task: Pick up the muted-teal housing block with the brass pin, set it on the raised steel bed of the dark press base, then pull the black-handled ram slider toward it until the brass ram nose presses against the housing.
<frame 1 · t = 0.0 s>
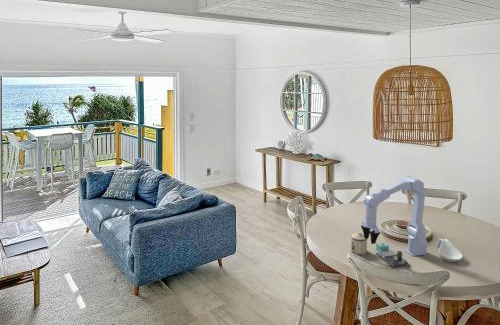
hand: (369, 240, 216), 10 cm above the table, fingers open, 7 cm apart
spoon rest: (446, 255, 220), on the table
housing: (382, 250, 227), on the table
press base: (392, 259, 215), on the table
ram lever: (398, 256, 209), point 4 cm above the table, slide at 0.0 cm
teacup with lid: (359, 252, 225), on the table
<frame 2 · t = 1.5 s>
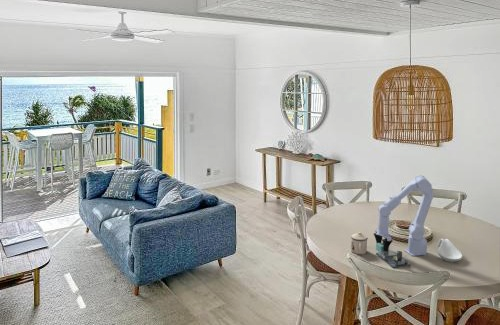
hand: (382, 248, 227), 2 cm above the table, fingers open, 7 cm apart
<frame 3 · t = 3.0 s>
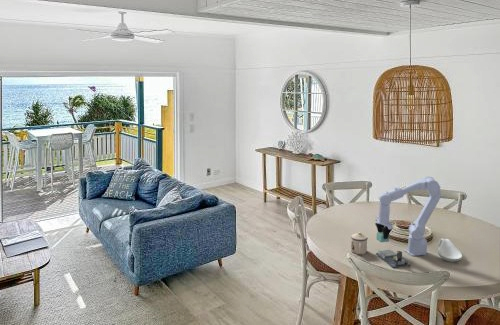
hand: (383, 236, 225), 8 cm above the table, fingers closed on housing, 5 cm apart
housing: (382, 240, 226), point 6 cm above the table, touching gripper
everything else where it was.
when the fingers open (5 cm above the table, at t = 4.6 s): housing stays where it is, resting on press base.
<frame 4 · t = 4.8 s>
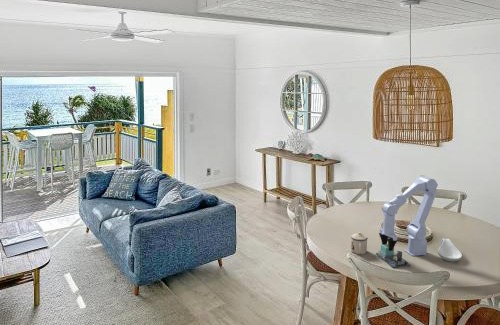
hand: (387, 247, 219), 5 cm above the table, fingers open, 6 cm apart
housing: (387, 252, 220), point 2 cm above the table, touching press base
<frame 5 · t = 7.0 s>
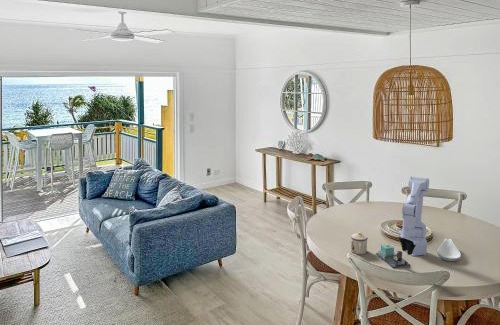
hand: (407, 252, 201), 10 cm above the table, fingers open, 4 cm apart
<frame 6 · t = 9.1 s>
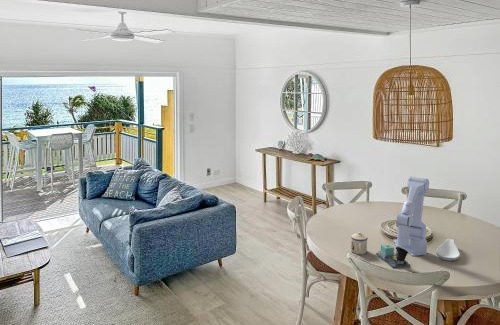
hand: (401, 260, 206), 3 cm above the table, fingers closed
ram lever: (397, 256, 210), point 4 cm above the table, slide at 0.7 cm, touching gripper
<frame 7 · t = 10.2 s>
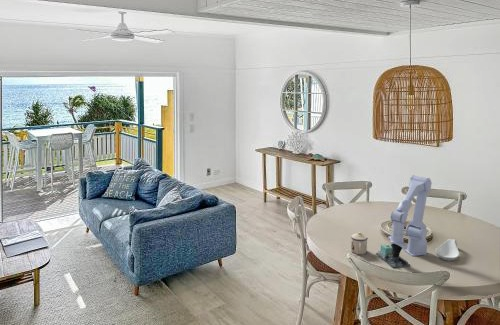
hand: (396, 256, 211), 3 cm above the table, fingers closed
housing: (387, 252, 220), point 2 cm above the table, touching press base, ram lever
ram lever: (392, 252, 214), point 4 cm above the table, slide at 5.1 cm, touching gripper, housing
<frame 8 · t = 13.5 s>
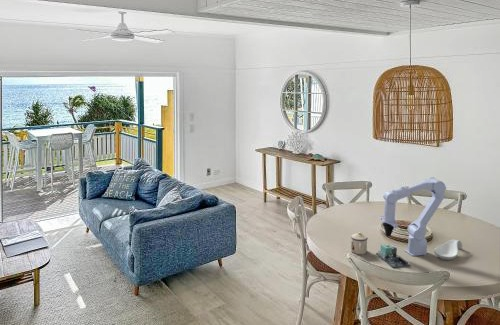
hand: (388, 236, 221), 10 cm above the table, fingers closed
housing: (387, 252, 220), point 2 cm above the table, touching press base
ram lever: (393, 252, 214), point 4 cm above the table, slide at 5.0 cm
at the end: housing inside the target area (0.4 cm from its centre), point 1.8 cm above the table; housing tilted 0°; ram lever slide at 5.0 cm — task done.
